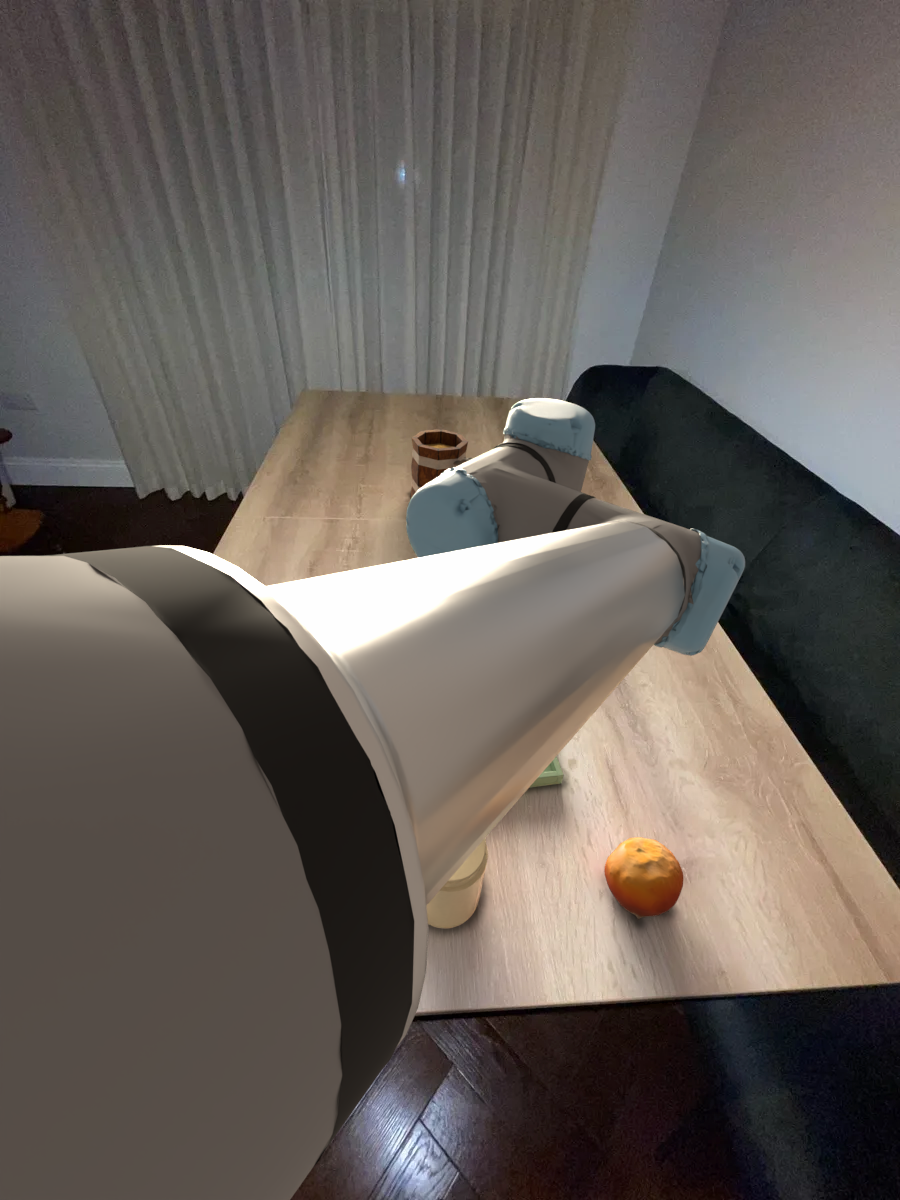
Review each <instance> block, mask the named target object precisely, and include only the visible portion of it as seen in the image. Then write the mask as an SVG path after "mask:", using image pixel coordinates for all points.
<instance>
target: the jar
mask: <svg viewBox="0 0 900 1200" xmlns="http://www.w3.org/2000/svg"><path fill="white" fill-rule="evenodd" d="M488 858H489V850H488V844H487V840H486V838H485V839H484V840H483V841H482V842H481V843H480V845H479V846H478V847H477V848H476V849H475V850H474V851H473V853H472V854H471V855H470V856H469V857H468V858H467V860H466V861H465V862H464V863H463V864H462V865H461V866H460V868H459V869H458V870H457V871H456V872H455V873H454V874H453V876H452V877H451V878H450V879H449V880H448V881H447V883H446V884H445V885H444V886H443V887H442V888H441V889H440V891H439V892H438V893H437V894H436V895H435V896H434V897H433V899H432V900H431V901H430V902H429V903H428V904H427V917H428V926H431V927H434V928H438V929H453V928H456V927H459V926H461V925H463V924H464V923H465V922H466V921H468V920H469V919H470V918H471V917H472V916H473V914H474V913H475V911H476V909H477V907H478V905H479V901H480V897H481V894H482V893H481V892H482V889H483V888H482V887H483V883H484V879H485V874H486V869H487V864H488Z"/></svg>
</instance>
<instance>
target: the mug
mask: <svg viewBox="0 0 900 1200" xmlns="http://www.w3.org/2000/svg"><path fill="white" fill-rule="evenodd" d="M411 444H412V445H411V446H412V458H411V464H410V465H411V466H410V469H411V489H410V496H411V497H412V496H413V495H414V494H415V493H416V492H417V491H418V490H419V489H420V488H421V487H423V486H424V485H425V484H426V483H428V482H430V481H432V480H433V479H435V478H437V477H438V476H440V475H441V473H442V472H443V471H445V470H447V469H451V468H453V467H456V466H458V465H461V464H463V463H465V462H467V461H469V460H471V459H473V458H474V457H467V449H468V445H469V441H468V439H466V437H464V435H463V434H462V433H459V432H457V431H456V432H455V431H452V430H446V429H443V428H442V429H441V428H439V429H426V430H425V429H424V430H420V431H419V432H417V433H416V434H414V435H413V436H411Z"/></svg>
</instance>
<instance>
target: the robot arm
mask: <svg viewBox="0 0 900 1200" xmlns="http://www.w3.org/2000/svg"><path fill="white" fill-rule="evenodd" d="M595 430H596V422H595V419H594V416H593V415H592V413H591V412H590V411H588V410H587V409H586V408H585V407H583V406H580V405H578V404H576V403H572V402H568V401H565V400H561V399H555V398H546V397H544V398H543V397H535V398H533V397H532V398H527V399H526V398H525V399H522V400H520V401H517V402H516V403H514V404H513V405H512V406H511V408H510V410H509V411H508V414H507V418H506V422H505V426H504V428H503V431H502V434H503V442H502V443H499V444H498V445H496V446H494V447H493V448H491V449H490V450H489V451H486V452H484V453H482V454H480V455H477V456H476V457H472V458H473V459H471V460H469V461H467V462H465V463H463V464H461V465H458V466H456V467H453V468H451V469H447V470H445V471H443V472H442V473H441V475H440V476H438V477H437V478H435V479H433V480H432V481H430V482H428V483H426V484H425V485H424V486H423V487H421V488H420V489H419V490H418V491H417V492H416V493H415V494H414V495H413V496H411V498H410V500H409V502H408V505H407V508H406V514H405V515H406V516H405V522H406V523H405V524H406V525H405V530H406V535H407V538H408V541H409V544H410V546H411V549H412V551H413V552H414V554H415V556H416V557H415V558H409V559H406V560H399V561H394V562H389V563H383V564H378V565H372V566H367V567H361V568H355V569H350V570H345V571H340V572H334V573H329V574H324V575H318V576H313V577H308V578H303V579H298V580H292V581H286V582H281V583H276V584H270V585H265V584H263V583H261V582H260V581H258V580H257V579H256V578H254V577H253V576H252V575H250V574H249V573H247V572H246V571H244V570H243V569H242V568H240V567H239V566H237V565H235V564H233V563H231V562H230V561H227V560H225V559H223V558H221V557H219V556H217V555H215V554H213V553H211V552H208V551H205V550H201V549H197V548H193V547H190V546H185V545H171V544H169V545H168V544H167V545H166V544H165V545H162V544H159V545H143V546H142V545H141V546H135V547H126V548H113V549H103V550H92V551H82V552H81V551H79V552H69V553H61V554H60V553H58V554H46V555H45V554H44V555H0V1200H291V1199H292V1198H293V1196H294V1195H295V1194H296V1192H297V1190H298V1189H299V1188H300V1186H301V1185H302V1183H303V1182H304V1181H305V1180H306V1178H307V1176H308V1175H309V1174H310V1172H311V1171H312V1169H313V1168H314V1167H315V1166H316V1165H317V1164H318V1163H319V1162H320V1160H321V1158H322V1156H323V1154H324V1153H325V1152H326V1150H327V1149H328V1147H329V1146H330V1144H331V1143H332V1141H333V1140H334V1138H335V1137H336V1136H337V1134H338V1133H339V1131H340V1130H341V1129H342V1127H343V1125H345V1123H346V1121H347V1120H348V1119H349V1117H350V1115H351V1114H352V1113H353V1112H354V1110H355V1109H356V1107H357V1106H358V1104H359V1103H360V1102H361V1100H362V1099H363V1097H364V1096H365V1094H366V1093H367V1092H368V1090H369V1089H370V1087H371V1086H372V1085H373V1083H374V1082H375V1081H376V1079H377V1078H378V1076H379V1075H380V1074H381V1072H382V1071H383V1069H384V1068H385V1067H386V1066H387V1065H388V1063H389V1062H390V1061H391V1060H392V1057H393V1056H394V1053H395V1051H396V1050H397V1048H398V1046H399V1045H400V1044H401V1042H402V1041H403V1040H404V1038H405V1037H406V1036H407V1034H408V1032H409V1030H410V1027H411V1025H412V1022H413V1020H414V1019H415V1016H416V1015H417V1011H418V1010H419V1007H420V1002H421V997H422V994H423V989H424V984H425V979H426V974H427V963H428V947H429V932H430V931H429V924H428V917H427V904H428V903H429V902H430V901H431V900H432V899H433V897H434V896H435V895H436V894H437V893H438V892H439V891H440V889H441V888H442V887H443V886H444V885H445V884H446V883H447V881H448V880H449V879H450V878H451V877H452V876H453V874H454V873H455V872H456V871H457V870H458V869H459V868H460V866H461V865H462V864H463V863H464V862H465V861H466V860H467V858H468V857H469V856H470V855H471V854H472V853H473V851H474V850H475V849H476V848H477V847H478V846H479V845H480V843H481V842H482V841H483V840H484V839H485V840H486V838H487V837H488V836H489V835H490V833H491V832H492V831H493V830H494V829H495V827H496V826H497V825H498V824H499V823H500V822H501V821H502V820H503V818H504V817H506V815H507V814H508V812H509V811H510V810H511V809H512V808H513V807H514V806H515V805H516V803H517V802H518V801H519V800H520V799H521V797H522V796H523V795H524V794H525V793H526V792H527V791H528V790H529V788H531V787H530V786H531V785H532V784H533V783H534V781H535V780H536V779H537V778H538V777H539V776H540V774H541V773H542V772H543V771H544V770H545V769H546V768H547V766H548V765H549V764H550V763H551V762H552V761H553V760H554V758H555V757H556V756H558V755H559V754H560V753H561V752H562V750H564V748H565V747H566V746H567V745H568V744H569V742H570V741H571V740H572V739H573V738H574V737H575V736H576V735H577V733H578V732H579V731H581V728H582V727H583V726H585V724H586V723H587V722H588V721H589V719H590V718H591V717H592V716H593V715H594V714H595V712H597V710H598V709H599V708H601V706H602V705H603V703H604V702H605V701H606V700H607V699H608V698H609V697H610V696H611V694H612V693H613V692H614V691H615V690H616V688H617V687H618V686H619V685H620V684H621V683H622V682H623V680H624V679H626V677H627V676H628V675H629V673H630V672H631V671H632V670H633V669H634V668H635V666H636V665H638V663H639V662H640V661H641V660H642V658H644V657H645V655H646V654H647V653H648V652H649V650H650V649H651V648H652V647H653V646H655V647H657V648H664V649H667V650H669V651H672V652H675V653H678V654H680V655H684V656H695V655H698V654H700V653H702V652H703V650H705V648H706V646H707V644H708V643H709V640H710V638H711V636H712V635H713V632H714V630H716V629H715V628H716V627H717V625H718V622H719V621H720V619H721V617H722V615H723V613H724V611H725V609H726V607H727V605H728V603H729V601H730V599H731V598H732V596H733V593H734V591H735V589H736V587H737V585H738V583H739V580H740V579H741V577H742V575H743V572H744V570H745V568H746V559H745V556H744V553H743V552H742V551H741V550H740V549H739V548H737V547H735V546H733V545H731V544H728V543H726V542H723V541H721V540H719V539H716V538H714V537H711V536H709V535H707V534H706V533H705V532H703V531H701V530H699V529H696V528H690V529H689V528H686V527H683V526H680V525H678V524H674V523H672V522H668V521H665V520H662V519H659V518H656V517H653V516H651V515H647V514H644V513H642V512H638V511H636V510H632V509H630V508H627V507H624V506H620V505H618V504H615V503H611V502H609V501H605V500H602V499H599V498H597V497H596V496H594V495H590V494H587V493H585V492H582V490H583V485H584V482H585V478H586V474H587V471H588V466H589V462H590V461H591V460H592V449H593V443H594V436H595Z"/></svg>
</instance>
